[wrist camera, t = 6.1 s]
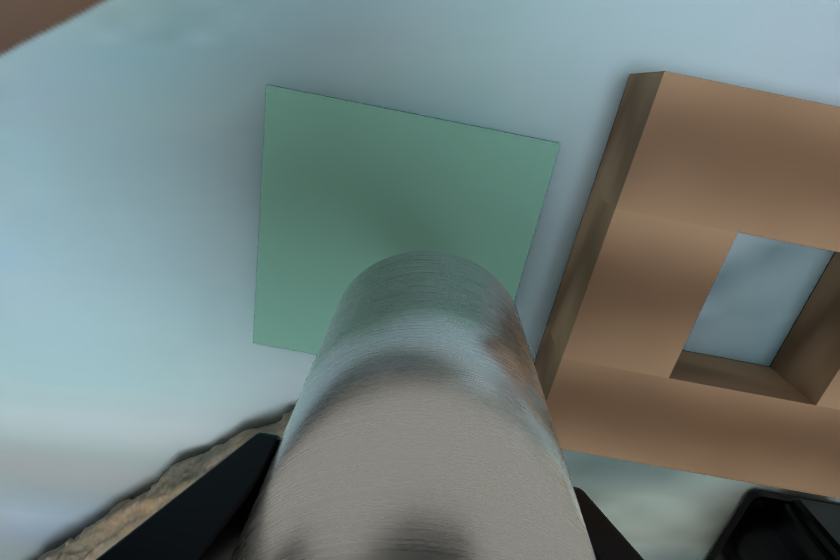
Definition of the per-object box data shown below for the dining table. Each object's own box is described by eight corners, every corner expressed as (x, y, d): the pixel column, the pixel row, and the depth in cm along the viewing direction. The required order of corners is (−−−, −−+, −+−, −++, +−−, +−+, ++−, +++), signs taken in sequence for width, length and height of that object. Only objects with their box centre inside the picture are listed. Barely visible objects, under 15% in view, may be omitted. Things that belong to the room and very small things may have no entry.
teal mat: (488, 380, 24) (489, 386, 23) (256, 338, 23) (253, 343, 23) (557, 142, 19) (560, 143, 19) (270, 85, 19) (265, 84, 18)
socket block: (812, 455, 25) (860, 502, 22) (521, 402, 24) (531, 443, 21) (1015, 153, 18) (1117, 164, 16) (630, 74, 18) (665, 71, 15)
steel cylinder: (493, 423, 14) (558, 848, 6) (324, 394, 14) (183, 799, 6) (544, 271, 12) (734, 642, 4) (344, 233, 12) (164, 554, 4)
